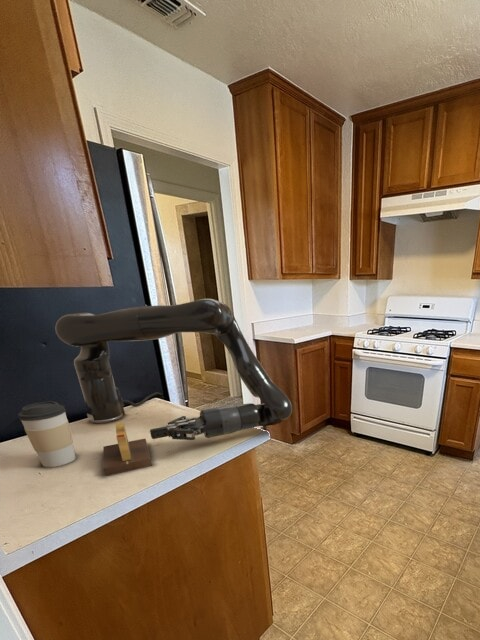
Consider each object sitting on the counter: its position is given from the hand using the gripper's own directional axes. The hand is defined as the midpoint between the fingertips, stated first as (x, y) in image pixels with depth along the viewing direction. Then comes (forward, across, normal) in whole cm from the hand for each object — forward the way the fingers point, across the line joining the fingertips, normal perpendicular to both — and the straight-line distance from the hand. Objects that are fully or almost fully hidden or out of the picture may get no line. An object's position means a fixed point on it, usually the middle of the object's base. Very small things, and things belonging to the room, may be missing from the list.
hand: (150, 434), depth 87 cm
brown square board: (+6, -3, +6) cm, 9 cm away
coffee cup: (+21, -11, +7) cm, 25 cm away
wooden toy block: (+6, -3, +4) cm, 8 cm away
